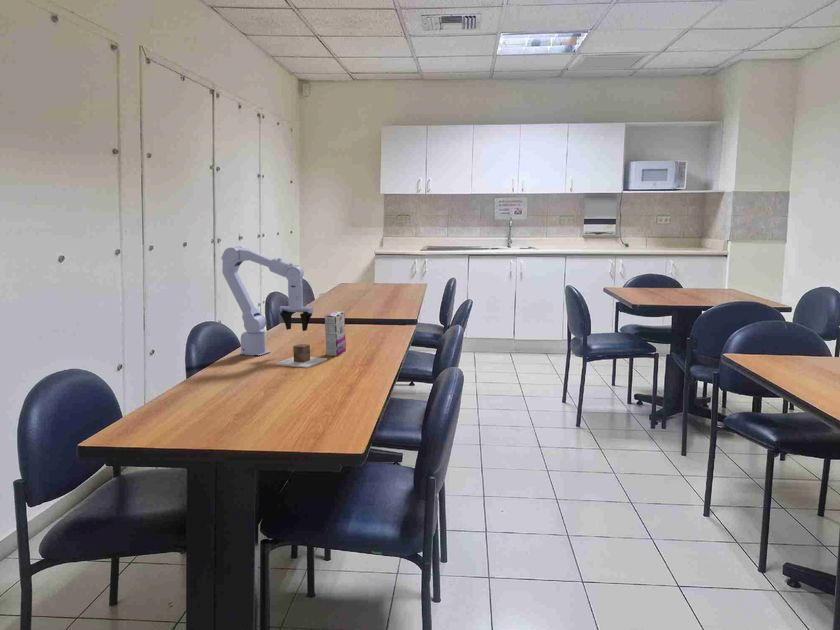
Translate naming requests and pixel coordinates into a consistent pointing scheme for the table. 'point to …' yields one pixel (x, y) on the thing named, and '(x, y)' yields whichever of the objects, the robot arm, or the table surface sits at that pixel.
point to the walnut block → (301, 353)
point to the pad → (307, 364)
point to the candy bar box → (335, 333)
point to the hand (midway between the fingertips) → (296, 329)
